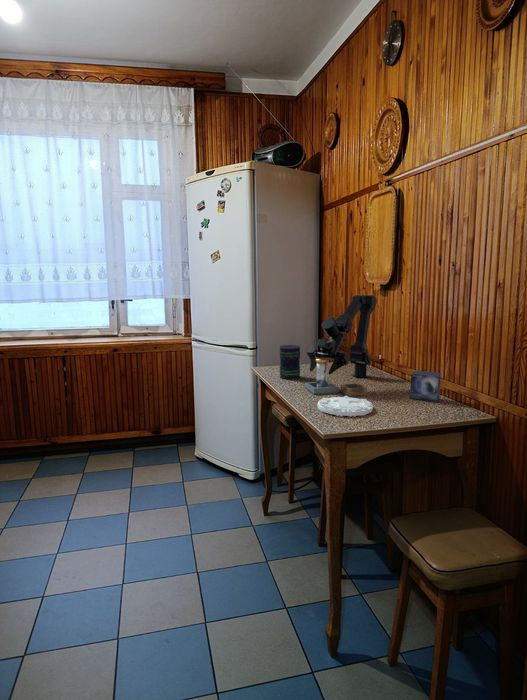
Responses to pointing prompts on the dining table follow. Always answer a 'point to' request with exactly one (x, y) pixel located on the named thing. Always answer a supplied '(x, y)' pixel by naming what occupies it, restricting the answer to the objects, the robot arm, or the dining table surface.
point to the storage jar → (289, 362)
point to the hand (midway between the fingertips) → (319, 372)
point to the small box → (425, 386)
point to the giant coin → (345, 406)
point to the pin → (321, 372)
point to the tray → (324, 390)
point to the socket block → (353, 389)
